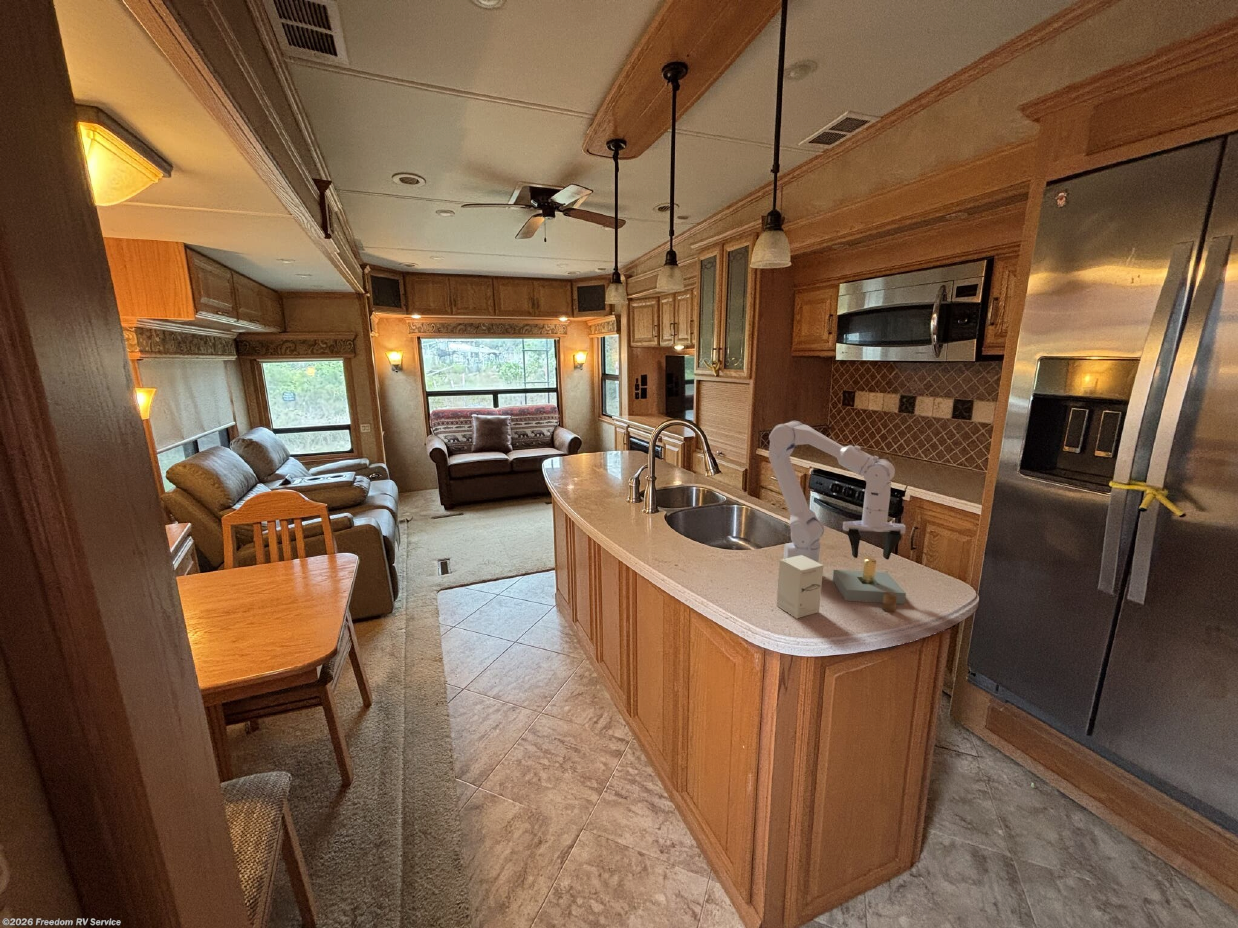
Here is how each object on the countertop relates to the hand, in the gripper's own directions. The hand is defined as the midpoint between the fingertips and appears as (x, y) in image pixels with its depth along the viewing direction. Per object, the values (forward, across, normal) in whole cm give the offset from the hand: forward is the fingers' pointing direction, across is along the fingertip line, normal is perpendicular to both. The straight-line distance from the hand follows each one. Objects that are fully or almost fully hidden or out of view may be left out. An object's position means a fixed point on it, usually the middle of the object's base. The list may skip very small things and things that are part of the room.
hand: (870, 557), depth 127 cm
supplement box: (+10, -20, -12) cm, 25 cm away
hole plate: (+10, 0, 0) cm, 10 cm away
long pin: (+10, 0, 0) cm, 10 cm away
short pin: (+10, +2, -10) cm, 14 cm away
